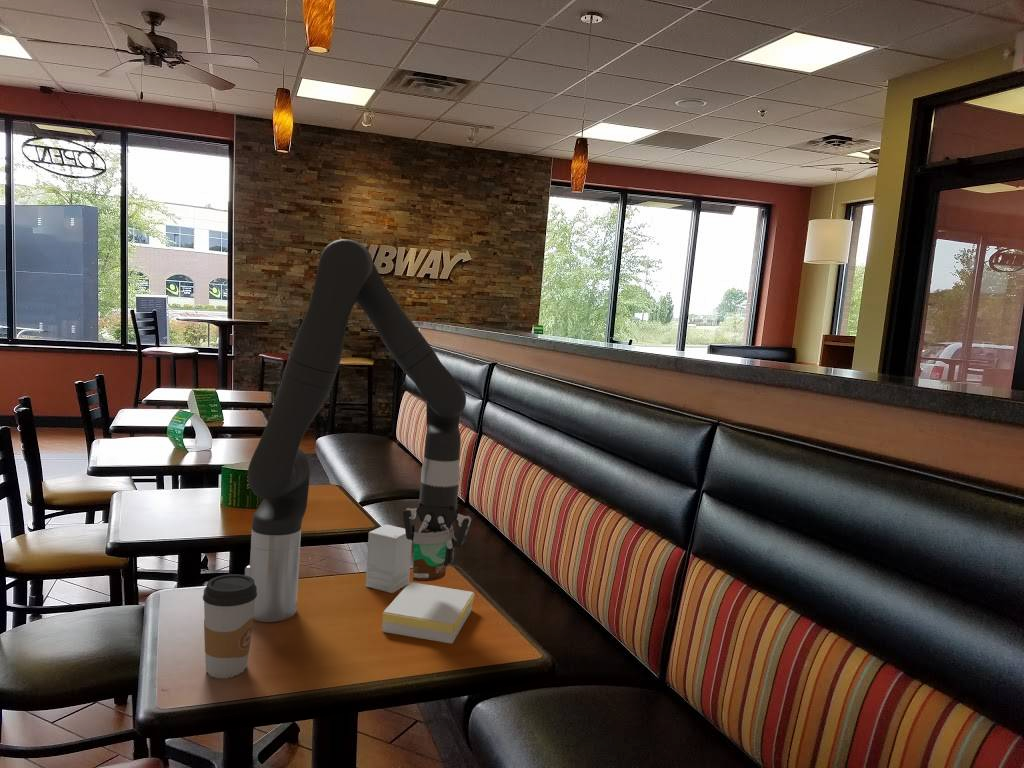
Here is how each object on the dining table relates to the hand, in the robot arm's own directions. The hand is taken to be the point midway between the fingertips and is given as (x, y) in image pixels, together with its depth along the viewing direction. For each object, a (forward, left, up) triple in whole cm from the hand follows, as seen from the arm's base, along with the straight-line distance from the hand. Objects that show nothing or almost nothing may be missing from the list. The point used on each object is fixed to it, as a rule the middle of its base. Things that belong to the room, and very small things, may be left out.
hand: (433, 562), depth 140 cm
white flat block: (0, 0, -12) cm, 12 cm away
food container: (+1, 0, -3) cm, 3 cm away
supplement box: (-14, +14, -12) cm, 23 cm away
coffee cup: (-26, -30, -12) cm, 42 cm away
